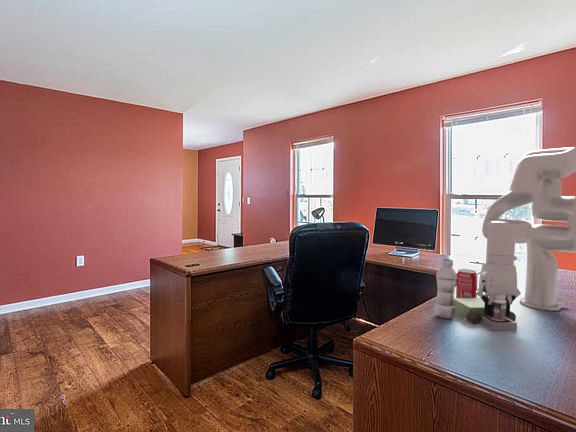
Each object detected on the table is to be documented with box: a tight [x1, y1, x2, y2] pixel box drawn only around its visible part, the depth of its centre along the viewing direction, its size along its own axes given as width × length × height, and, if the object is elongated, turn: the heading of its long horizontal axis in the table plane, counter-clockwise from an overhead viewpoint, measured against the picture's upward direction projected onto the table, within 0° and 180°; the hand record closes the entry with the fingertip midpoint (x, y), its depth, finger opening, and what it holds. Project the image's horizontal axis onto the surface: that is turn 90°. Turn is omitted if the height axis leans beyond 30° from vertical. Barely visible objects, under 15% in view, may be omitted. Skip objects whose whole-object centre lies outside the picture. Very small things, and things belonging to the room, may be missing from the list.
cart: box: [454, 297, 518, 332], centre depth 111 cm, size 16×19×5 cm
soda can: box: [455, 268, 478, 298], centre depth 128 cm, size 7×7×13 cm
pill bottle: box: [488, 295, 507, 321], centre depth 105 cm, size 5×5×8 cm
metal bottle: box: [434, 258, 457, 320], centre depth 112 cm, size 6×7×20 cm
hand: (496, 314), depth 105 cm, fingers closed on pill bottle, 4 cm apart
